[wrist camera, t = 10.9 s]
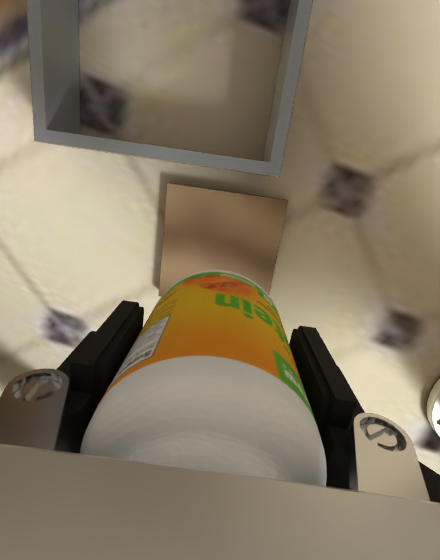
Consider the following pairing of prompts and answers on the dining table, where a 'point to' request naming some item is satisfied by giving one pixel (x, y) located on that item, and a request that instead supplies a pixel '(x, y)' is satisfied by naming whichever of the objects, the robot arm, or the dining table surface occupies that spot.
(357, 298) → the dining table surface
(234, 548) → the robot arm
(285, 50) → the bin
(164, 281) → the walnut board
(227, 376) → the supplement bottle
